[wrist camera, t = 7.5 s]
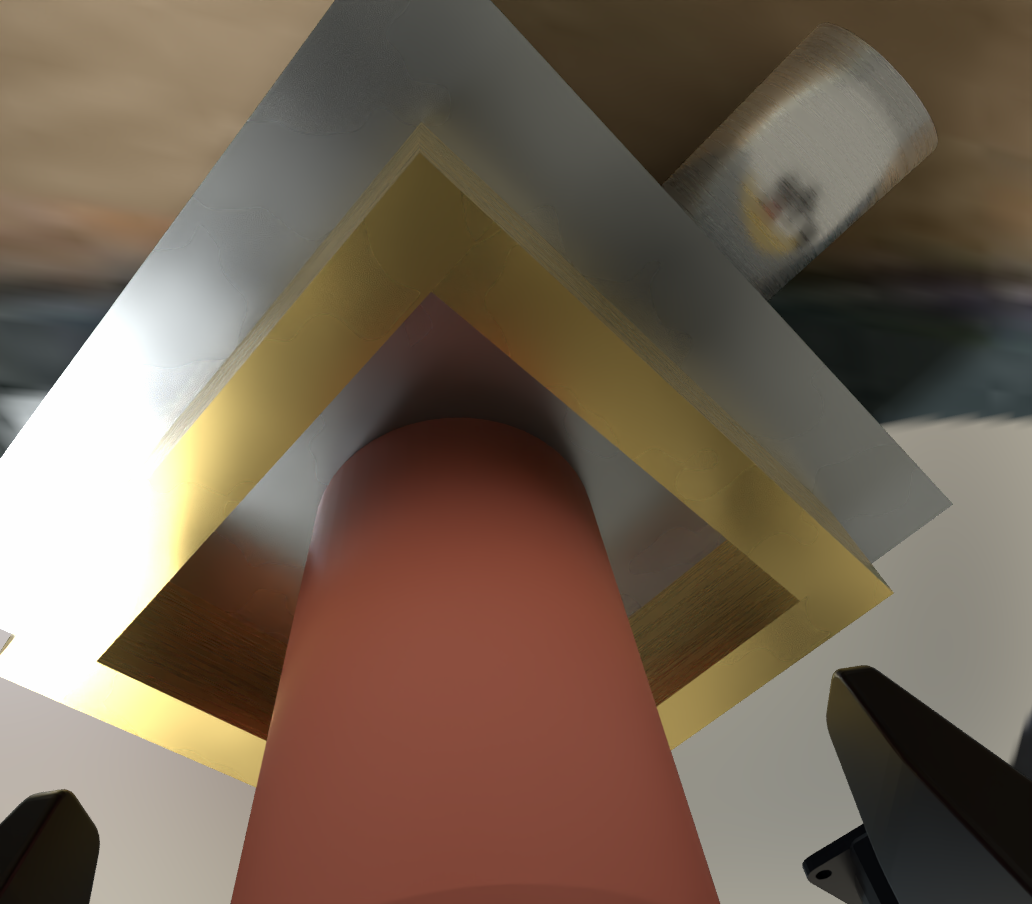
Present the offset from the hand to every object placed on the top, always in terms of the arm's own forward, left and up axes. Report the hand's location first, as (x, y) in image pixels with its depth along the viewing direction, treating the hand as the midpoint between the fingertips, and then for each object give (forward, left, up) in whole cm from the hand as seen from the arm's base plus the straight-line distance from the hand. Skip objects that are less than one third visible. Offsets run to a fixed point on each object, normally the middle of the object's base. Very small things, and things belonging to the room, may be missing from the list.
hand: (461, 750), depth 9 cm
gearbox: (0, -2, -7) cm, 7 cm away
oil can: (0, 0, -4) cm, 4 cm away
